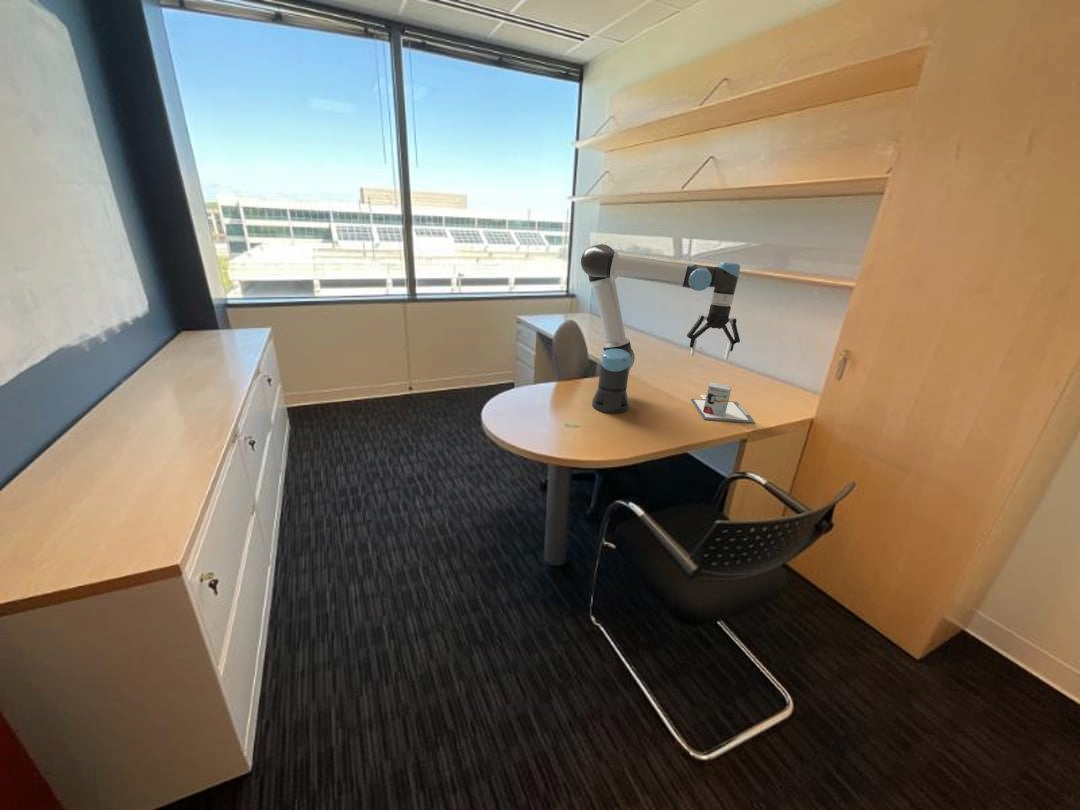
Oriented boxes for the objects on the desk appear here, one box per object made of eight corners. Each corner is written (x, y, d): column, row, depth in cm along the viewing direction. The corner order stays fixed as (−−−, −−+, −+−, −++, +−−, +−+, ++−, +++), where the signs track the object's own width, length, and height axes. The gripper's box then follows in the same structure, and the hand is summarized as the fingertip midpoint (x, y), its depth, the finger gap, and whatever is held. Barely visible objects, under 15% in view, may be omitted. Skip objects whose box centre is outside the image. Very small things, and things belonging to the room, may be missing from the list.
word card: (703, 399, 198) (703, 398, 198) (700, 395, 203) (700, 394, 203) (721, 400, 198) (721, 399, 198) (718, 396, 202) (718, 395, 202)
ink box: (702, 412, 182) (708, 385, 178) (704, 408, 186) (709, 382, 182) (724, 416, 179) (730, 389, 174) (725, 412, 183) (731, 386, 178)
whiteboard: (703, 419, 177) (704, 417, 176) (690, 399, 197) (691, 397, 196) (754, 423, 176) (755, 420, 175) (736, 403, 196) (736, 400, 196)
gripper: (690, 303, 167) (679, 356, 176) (757, 309, 166) (743, 362, 174) (686, 299, 174) (675, 351, 183) (750, 305, 173) (737, 357, 181)
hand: (708, 357), depth 179 cm, fingers open, 13 cm apart
